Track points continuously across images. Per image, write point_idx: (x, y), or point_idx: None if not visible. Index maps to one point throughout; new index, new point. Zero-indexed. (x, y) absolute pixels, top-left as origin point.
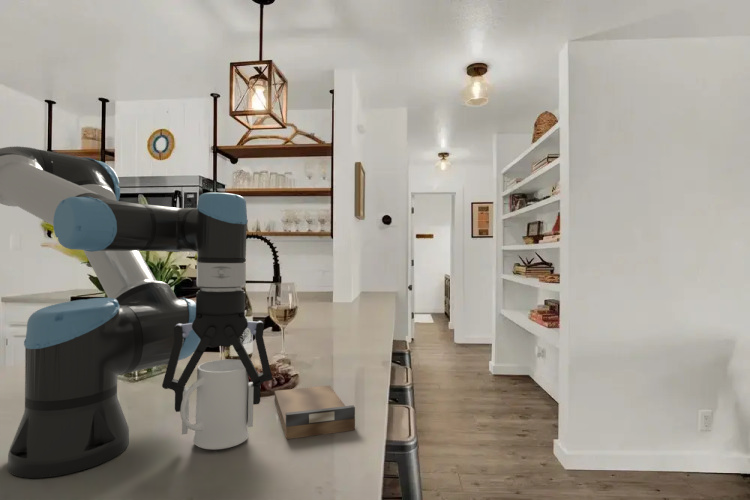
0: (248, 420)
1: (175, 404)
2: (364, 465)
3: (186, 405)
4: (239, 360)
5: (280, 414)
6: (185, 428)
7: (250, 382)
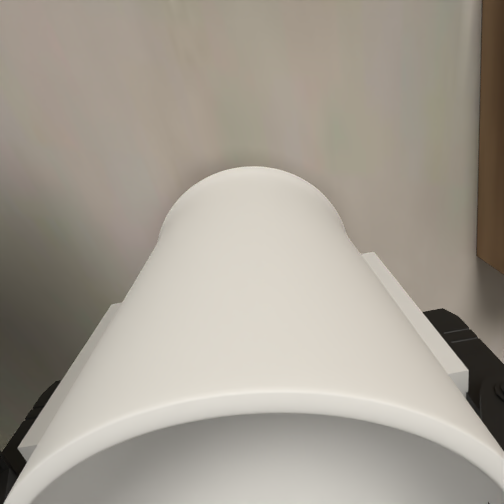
0: None
1: None
2: None
3: None
4: (436, 441)
5: (497, 42)
6: None
7: (451, 378)
